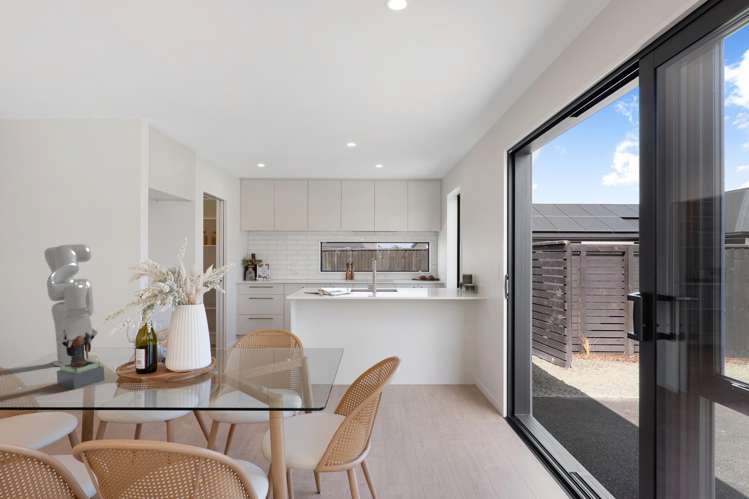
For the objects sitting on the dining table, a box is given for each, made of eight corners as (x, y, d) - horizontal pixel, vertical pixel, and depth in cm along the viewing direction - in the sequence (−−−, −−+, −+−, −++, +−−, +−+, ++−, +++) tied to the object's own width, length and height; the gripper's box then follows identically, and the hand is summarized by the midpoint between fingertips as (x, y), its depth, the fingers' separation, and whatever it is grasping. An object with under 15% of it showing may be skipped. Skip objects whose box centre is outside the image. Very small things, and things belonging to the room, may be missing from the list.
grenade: (88, 366, 182) (87, 331, 181) (67, 368, 179) (66, 333, 178) (92, 362, 187) (91, 329, 187) (71, 365, 184) (70, 331, 184)
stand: (57, 384, 181) (56, 366, 181) (87, 375, 192) (86, 358, 191) (74, 389, 174) (72, 370, 174) (104, 380, 185) (103, 362, 185)
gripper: (92, 308, 191) (95, 347, 192) (48, 315, 176) (52, 358, 177) (101, 309, 188) (104, 349, 188) (57, 317, 173) (60, 360, 173)
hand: (79, 353), depth 183 cm, fingers closed on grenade, 6 cm apart
